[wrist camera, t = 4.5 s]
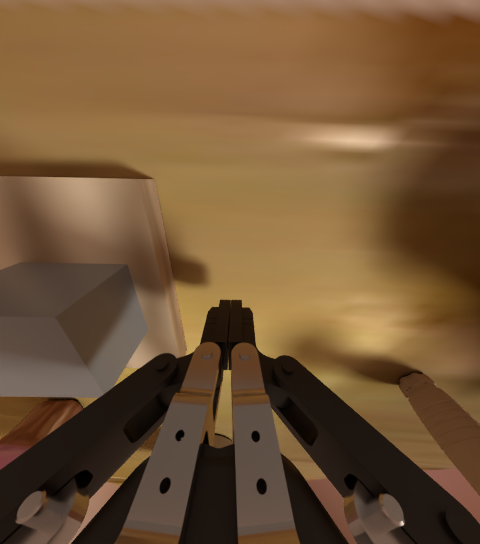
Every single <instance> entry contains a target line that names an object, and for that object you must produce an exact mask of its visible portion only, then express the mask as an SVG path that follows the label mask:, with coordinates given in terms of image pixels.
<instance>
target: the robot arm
mask: <svg viewBox="0 0 480 544" xmlns="http://www.w3.org/2000/svg"><path fill="white" fill-rule="evenodd" d="M228 361H229V370H231V392H232V430H233V442H232V441H231V440H229V439H227V438H225V437H222V436H218V435H215V424H216V418H217V412H218V405H219V399H220V393H221V387H222V381H223V371H224V370H227V369H228ZM271 408H272V409H273V410H274V412H275V413H276V414H277V415H278V417H279V418H280V419H281V420H282V422H283V423H284V424H285V425H286V427H287V428H288V429H289V430H290V432H291V433H292V434H293V435H294V437H295V438H296V439H297V440H298V442H299V443H300V444H301V445H302V447H303V448H304V449H305V450H306V452H307V453H308V454H309V455H310V457H311V458H312V459H313V460H314V462H315V463H316V464H317V465H318V467H319V468H320V469H321V470H322V472H323V473H324V474H325V475H326V477H327V478H328V479H329V480H330V481H331V483H332V484H333V485H334V487H335V488H336V489H337V490H338V491H339V493H340V494H341V495H342V497H344V513H345V518H346V521H347V524H348V527H349V529H350V531H351V533H352V535H353V537H354V539H355V541H356V542H357V544H480V524H479V523H478V522H477V520H476V519H475V518H474V517H473V516H472V514H471V513H470V512H469V511H468V510H467V509H466V508H465V507H464V506H463V505H461V504H460V503H459V502H458V501H457V500H456V499H455V498H454V497H453V496H451V495H450V494H449V493H448V492H447V491H445V490H444V489H443V488H442V487H441V486H440V485H439V484H438V483H437V482H435V481H434V480H433V479H432V478H431V477H429V476H428V475H427V474H426V473H425V472H424V471H423V470H422V469H420V468H419V467H418V466H417V465H416V464H415V463H414V462H412V461H411V460H410V459H409V458H408V457H407V456H406V455H404V454H403V453H402V452H401V451H400V450H399V449H398V448H396V447H395V446H394V445H393V444H392V443H391V442H390V441H388V440H387V439H386V438H385V437H384V436H383V435H382V434H380V433H379V432H378V431H377V430H376V429H375V428H374V427H372V426H371V425H370V424H369V423H368V422H367V421H366V420H364V419H363V418H362V417H361V416H360V415H359V414H358V413H356V412H355V411H354V410H353V409H352V408H351V407H350V406H348V405H347V404H346V403H345V402H344V401H343V400H341V399H340V398H339V397H338V396H337V395H336V394H335V393H333V392H332V391H331V390H330V389H329V388H328V387H327V386H325V385H324V384H323V383H322V382H321V381H320V380H319V379H317V378H316V377H315V376H314V375H313V374H312V373H311V372H309V371H308V370H307V369H306V368H305V367H304V366H303V365H301V364H300V363H299V362H298V361H297V360H296V359H294V358H292V357H290V356H286V355H283V356H279V357H278V358H276V359H273V358H270V357H267V356H265V355H263V354H262V353H260V352H259V350H258V349H257V347H256V343H255V332H254V322H253V313H252V311H251V310H250V308H242V300H220V304H219V307H212V308H211V309H210V310H209V311H208V314H207V319H206V322H205V326H204V330H203V334H202V338H201V342H200V345H199V346H198V347H197V348H196V349H195V351H194V352H193V353H191V354H189V355H186V356H183V357H179V358H176V357H175V355H173V354H171V353H163V354H160V355H158V356H156V357H154V358H153V359H152V360H150V361H149V362H147V363H146V364H145V365H143V366H142V367H141V368H139V369H138V370H136V371H135V372H134V373H132V374H131V375H130V376H128V377H127V378H125V379H124V380H123V381H121V382H120V383H119V384H117V385H116V386H114V387H113V388H112V389H110V390H109V391H108V392H106V393H105V394H104V395H102V396H101V397H99V398H98V399H97V400H95V401H94V402H93V403H91V404H90V405H88V406H87V407H86V408H84V409H83V410H82V411H80V412H79V413H77V414H76V415H75V416H73V417H72V418H71V419H69V420H68V421H66V422H65V423H64V424H62V425H61V426H60V427H58V428H57V429H55V430H54V431H53V432H51V433H50V434H49V435H47V436H46V437H44V438H43V439H42V440H40V441H39V442H38V443H36V444H35V445H33V446H32V447H31V448H29V449H28V450H27V451H25V452H24V453H22V454H21V455H20V456H18V457H17V458H16V459H14V460H13V461H11V462H10V463H9V464H7V465H6V466H5V467H3V468H2V469H0V544H68V543H69V541H70V540H71V539H72V538H73V536H74V535H75V534H76V532H77V531H78V529H79V528H80V526H81V524H82V522H83V520H84V518H85V515H86V512H87V509H88V505H89V499H90V498H91V497H92V496H93V495H94V494H95V493H96V492H97V491H98V490H99V489H100V487H102V486H103V484H104V483H105V482H106V481H107V480H108V479H109V478H110V477H111V476H112V475H113V474H114V473H115V472H116V471H117V470H118V469H119V468H120V467H121V466H122V465H123V464H124V463H125V462H126V461H127V460H128V458H129V457H130V456H131V455H132V454H133V453H134V452H135V451H136V450H137V449H138V448H139V447H140V446H141V445H142V444H143V443H144V442H145V441H146V440H147V439H148V438H149V437H150V436H151V435H152V433H153V432H154V431H155V430H156V429H157V428H158V427H159V426H160V425H161V424H162V423H163V424H162V427H161V430H160V432H159V435H158V437H157V440H156V443H155V445H154V448H153V451H152V453H151V456H149V457H148V458H147V459H146V460H144V461H143V462H142V463H141V464H140V465H139V466H138V467H137V468H136V469H135V470H134V471H133V472H132V473H131V475H130V476H129V477H128V478H127V479H126V480H125V481H124V483H123V484H122V485H121V486H120V487H119V488H118V490H117V491H116V492H115V493H114V494H113V495H112V497H111V498H110V499H109V500H108V501H107V502H106V504H105V505H104V506H103V507H102V508H101V509H100V511H99V512H98V513H97V514H96V515H95V516H94V518H93V519H92V520H91V521H90V522H89V523H88V525H87V526H86V527H85V528H84V529H83V530H82V532H81V533H80V534H79V535H78V536H77V537H76V538H75V540H74V541H73V542H72V543H71V544H349V543H348V542H347V540H346V539H345V537H344V536H343V534H342V533H341V531H340V530H339V528H338V527H337V525H336V524H335V523H334V521H333V520H332V518H331V517H330V515H329V514H328V512H327V511H326V509H325V508H324V506H323V505H322V504H321V502H320V501H319V499H318V498H317V496H316V495H315V493H314V492H313V490H312V489H311V487H310V486H309V485H308V483H307V482H306V480H305V479H304V477H303V476H302V474H301V473H300V472H299V470H298V469H297V468H296V467H295V466H294V464H293V463H292V462H291V461H290V460H289V459H288V458H286V457H285V456H284V455H282V454H281V453H280V449H279V444H278V439H277V434H276V429H275V424H274V419H273V414H272V409H271Z"/></svg>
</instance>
